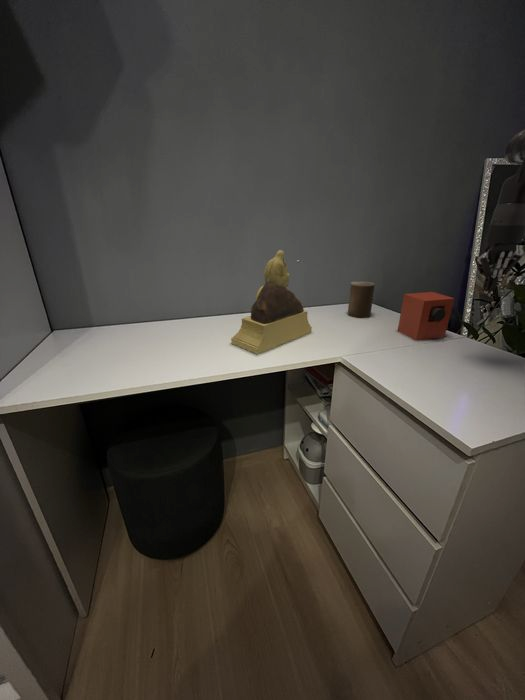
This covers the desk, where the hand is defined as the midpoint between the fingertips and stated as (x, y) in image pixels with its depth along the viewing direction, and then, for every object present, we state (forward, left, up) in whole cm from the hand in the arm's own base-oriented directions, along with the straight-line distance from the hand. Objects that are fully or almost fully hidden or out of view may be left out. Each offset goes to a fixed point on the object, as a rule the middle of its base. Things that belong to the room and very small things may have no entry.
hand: (488, 290), depth 83 cm
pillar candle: (+14, -46, -21) cm, 53 cm away
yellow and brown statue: (+56, -25, -21) cm, 65 cm away
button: (+2, -15, -14) cm, 20 cm away
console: (+2, -20, -20) cm, 29 cm away
